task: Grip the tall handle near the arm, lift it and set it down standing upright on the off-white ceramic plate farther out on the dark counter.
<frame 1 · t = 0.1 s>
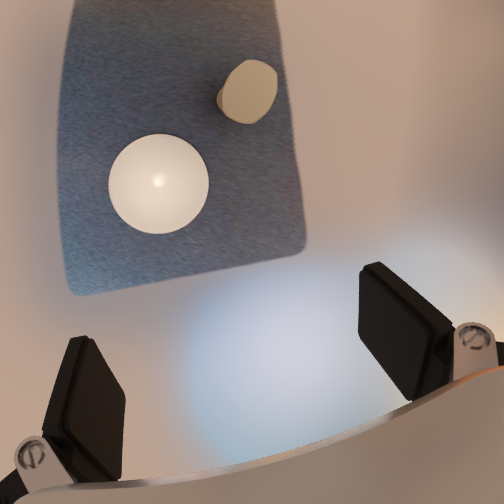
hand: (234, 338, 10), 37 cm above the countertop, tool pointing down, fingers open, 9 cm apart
handle: (227, 100, 41), on the countertop
plate: (158, 183, 43), on the countertop
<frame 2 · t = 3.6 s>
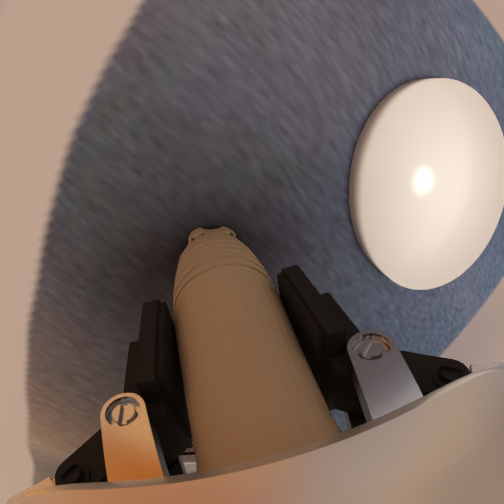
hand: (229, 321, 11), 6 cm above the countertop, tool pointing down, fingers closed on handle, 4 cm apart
handle: (210, 249, 17), on the countertop, touching gripper
plate: (437, 184, 18), on the countertop
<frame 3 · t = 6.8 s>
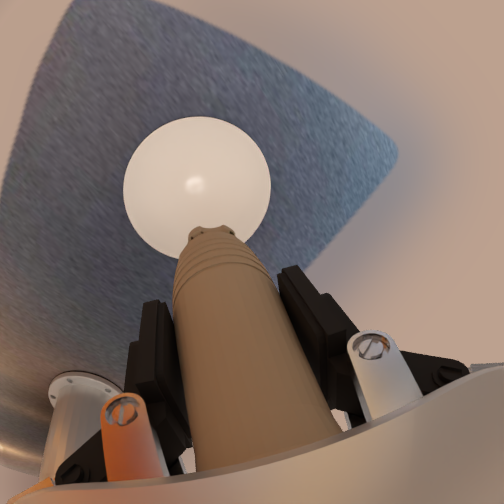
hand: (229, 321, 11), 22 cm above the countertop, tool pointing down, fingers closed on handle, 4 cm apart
handle: (210, 248, 17), point 15 cm above the countertop, touching gripper
plate: (196, 188, 31), on the countertop
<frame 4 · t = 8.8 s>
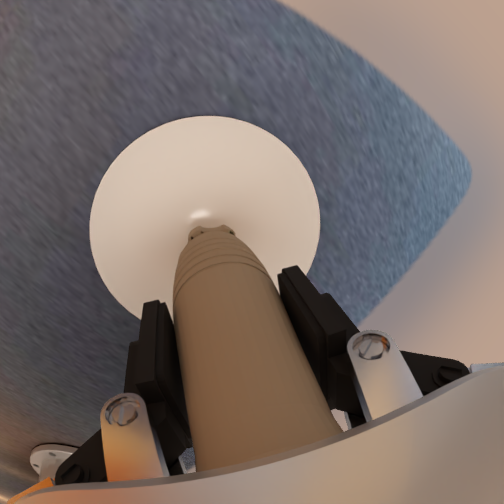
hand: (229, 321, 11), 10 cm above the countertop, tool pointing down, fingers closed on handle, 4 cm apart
handle: (210, 248, 17), point 3 cm above the countertop, touching gripper
plate: (205, 230, 20), on the countertop
when the fingers open (9 cm above the countertop, at t = 9.8 s): handle stays where it is, resting on plate.
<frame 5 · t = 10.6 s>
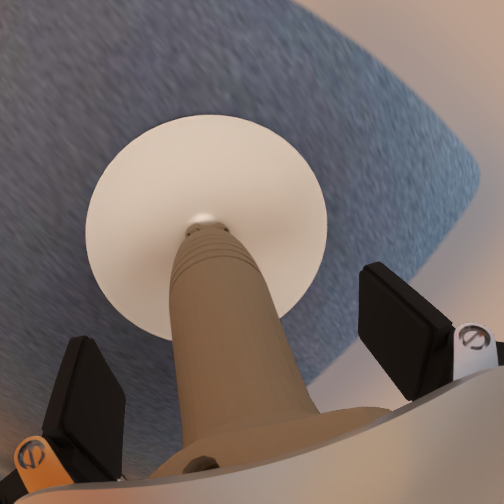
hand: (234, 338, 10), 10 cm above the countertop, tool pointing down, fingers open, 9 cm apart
handle: (206, 245, 18), point 1 cm above the countertop, touching plate
plate: (207, 235, 19), on the countertop
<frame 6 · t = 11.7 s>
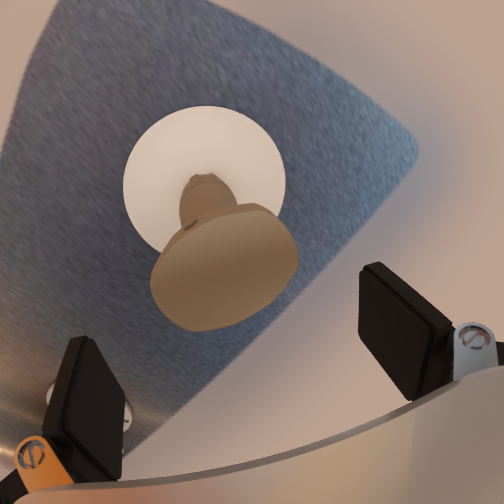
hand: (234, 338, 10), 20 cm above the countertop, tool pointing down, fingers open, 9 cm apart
handle: (203, 189, 27), point 1 cm above the countertop, touching plate
plate: (203, 184, 28), on the countertop
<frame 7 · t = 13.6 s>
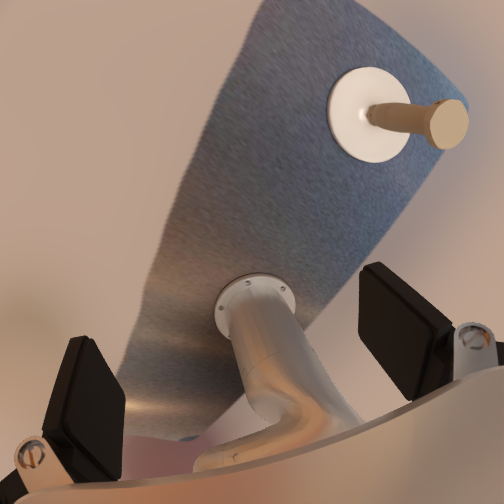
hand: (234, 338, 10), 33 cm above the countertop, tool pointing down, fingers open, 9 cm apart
handle: (374, 115, 40), point 1 cm above the countertop, touching plate
plate: (369, 114, 41), on the countertop
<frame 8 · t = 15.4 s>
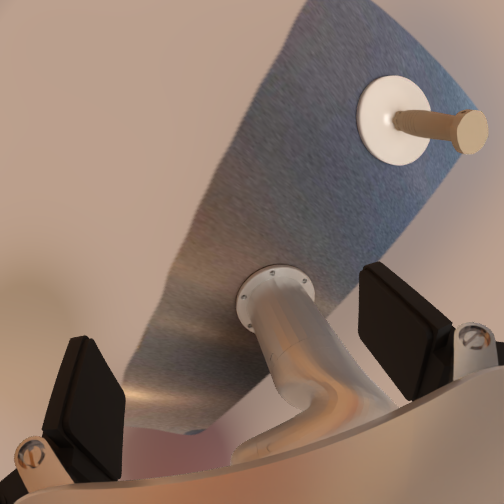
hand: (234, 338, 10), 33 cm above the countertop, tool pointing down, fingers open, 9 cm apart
handle: (398, 120, 42), point 1 cm above the countertop, touching plate
plate: (394, 119, 43), on the countertop
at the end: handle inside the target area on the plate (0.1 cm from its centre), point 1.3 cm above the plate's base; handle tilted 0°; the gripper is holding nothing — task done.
